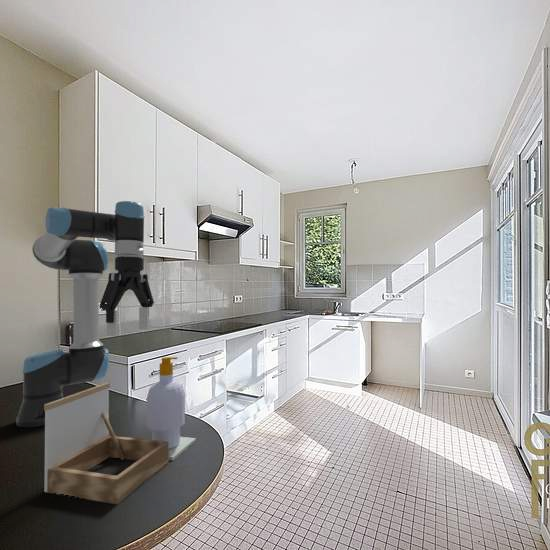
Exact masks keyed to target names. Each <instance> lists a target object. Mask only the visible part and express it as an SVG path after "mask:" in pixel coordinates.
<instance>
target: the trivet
mask: <svg viewBox="0 0 550 550" xmlns="http://www.w3.org/2000/svg"><path fill="white" fill-rule="evenodd" d="M195 441H196V442H197V438H196V437H188V436H187V437H185V436H180V443H179V444H178V445H177V446H176V447H174V448H171V449H168V450H169V461H174V460H176V459H177V458H178V457H179V456H181V455H182V454H183V453H184V452H185V451H186V450H187V449H189V448H190V447H191V446H192V445H193V444H195V443H196V442H195Z"/></svg>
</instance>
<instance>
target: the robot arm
mask: <svg viewBox="0 0 550 550" xmlns="http://www.w3.org/2000/svg"><path fill="white" fill-rule="evenodd" d="M114 208H115V210H114V214H113V213H112V214H111V213H106V212H105V213H104V212H96V211H95V212H94V211H86V210H80V209H73V208H67V207H54V206H53V207H49V208H47V210H46V214H45V230H46V231H45V233H44V235H42V236H39V237H38V238H37V239H36V240H34V243H33V244H32V249H31V250H32V254H33V256H34V258H35V259H36V261H38V262H39V263H41V264H42V265H44V266H46V267H48V268H50V269H54V270H62V271H68V276H69V277H70V278H71V279H72V281H73V289H72V290H73V298H72V299H73V303H72V304H73V341H72V342H73V343H71V345H70V346H69V347H68V352H66V353H65V352H64V351H63V350H62V349H54V350H53V349H51V350H46V351H42V352H39V353H38V352H37V353H34V354H31V355H29V356H27V357H26V358H25V359H24V360H23V370H22V374H23V376H22V377H23V379H22V381H23V382H22V383H23V384H22V402H21V405H20V407H19V410H18V413H17V416H16V419H15V420H16V421H15V422H16V423H15V424H16V426H17V427H19V428H39V427H43V426H44V427H45V410H44V404H47V403H50V402H53V401H56V400H59V399H62V398H65V397H64V393H63V392H64V390H63V388H64V386H65V387H66V386H71V385H77V384H81V383H92V382H95V381H99V380H102V379H103V378H104V377H105V376H106V374H107V372H108V370H109V364H110V353H109V350H108V349H107V348H105V347H104V343H103V342H101V340H100V309H101V310H102V311H105V322H106V336H116V337H117V336H118V334H119V333H118V332H119V331H118V330H119V329H118V327H119V325H118V324H119V323H118V321H119V319H118V318H119V317H118V316H119V313H118V312H119V311H118V309H117V307H118V306H119V304H120V302H121V300H122V298H123V297H124V294H125V293H126V292H128V290H131V291H132V292H133V293H134V295H135V297H136V299H137V300H138V303H139V304H140V307H139V309H138V311H139V313H138V315H139V316H138V317H139V318H138V321H139V322H138V323H139V324H138V326H139V328H138V329H139V330H148V329H149V326H150V325H149V324H150V323H149V321H150V319H149V318H150V308H152V307H153V305H154V304H155V301H154V298H153V294H152V290H151V287H150V284H149V278H148V277H149V276H148V274H144V273H143V274H142V273H141V272H142V271H144V270H145V269H144V267H145V265H144V263H145V262H144V261H145V259H144V258H143V256H144V242H145V241H144V237H145V233H144V232H145V230H144V229H145V213H144V205H142V204H141V203H140V202H136V201H130V200H121V201H117V203H116V204H115V207H114ZM81 237H82V238H89V239H90V238H92V239H103V240H108V241H111V242H114V255H115V256H116V257H115V258H114V270H115V271H117V272H110V273H109V274H108V281H107V284H106V287H105V290H104V292H103V294H102V298H101V300H100V299H99V297H100V294H99V288H100V287H99V279H100V278H101V277H102V276H103V274H104V272H105V271H107V270H108V265H109V255H108V251H107V248H106V246H105V244H103V243H102V242H101V241H96V240H87V239H86V240H84V239H78V238H81ZM99 302H100V303H99ZM99 308H100V309H99ZM116 309H117V310H116Z"/></svg>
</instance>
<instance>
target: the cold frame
mask: <svg viewBox="0 0 550 550" xmlns="http://www.w3.org/2000/svg"><path fill="white" fill-rule="evenodd" d="M101 416H102V418H103V420H104V422H105V425H106V427H107V429H108V431H109V436H107V437H105V438H103V439H102V440H100V441H98V442H96V443H94V444H93V445H91V446H89V447H87V448H85V449H83V450H82V451H80V452H78V453H76V454H74V455H73V456H71V457H69V458H67V459H65V460H63V461H62V462H60V463H58V464H56V465H54V466H53V467H51V468H49V469H48V492H47V493H48V494H54V493H56V494H55V495H60V494H64V495H63V496H65V495H69V496H68V497H71V496H75V497H74V498H77V497H79V498H78V499H83V498H84V500H88V501H89V500H90V501H94V502H102V503H107V504H113V505H119V504H121V502H122V501H124V500H125V499H126V498H127V497H129V496H130V495H131V494H132V493H133V492H134V491H136V490H137V489H138V488H139V487H140V486H141V485H143V484H144V483H145V482H146V481H147V480H149V479H150V478H151V477H152V476H154V475H155V474H156V473H157V472H158V471H159V470H160V469H162V468H163V467H164V466H165V465H166V464H168V463H169V461H170V460H169V450H168V442H165V441H156V440H152V439H145V438H144V439H143V438H137V437H129V436H128V437H126V436H117V435H116V434H115V431H114V430H113V428H112V425H111V423H110V420H109V421H108V418H107V416H106V414H105V412H104V413H102V414H101ZM108 458H116V459H117V458H118V459H120V460H121V461H123V460H133V461H135V462H134V463H132V464H131V465H130V466H129V467H127V468H125V469H124V470H123V471H122V472H120V473H119V474H116V475H113V474H106V473H100V472H93V471H89V470H91V469H92V468H94V467H95V466H97V465H99V464H100V463H102V462H103V461H105V460H107V459H108Z"/></svg>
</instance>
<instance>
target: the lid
mask: <svg viewBox="0 0 550 550" xmlns="http://www.w3.org/2000/svg"><path fill="white" fill-rule="evenodd" d="M110 385H111V383H110V382H105V383H102V384H100V385H97V386H93V387H91V388H87V389H85V390H82V391H79V392H75V393H73V394H71V395H67V396H65V397H64V398H62V399H59V400H56V401H53V402H50V403H47V404H44V410H45V425H44V487H43V488H44V489H43V490H44V493H48V469H49V468H51V467H53V466H54V465H56V464H58V463H60V462H62V461H63V460H65V459H67V458H69V457H71V456H73V455H74V454H76V453H78V452H80V451H82V450H83V449H85V448H87V447H89V446H91V445H93V444H94V443H96V442H98V441H100V440H102V439H103V438H105V437H107V436H109V435H110V434H109V431H108V429H107V427H106V425H105V422H104V420H103V418H102V416H101V414H102V413H104V412H105V414H106V416H107V418H108V421H109V422H110V419H109V416H110V411H109V409H110V408H109V406H110V399H109V398H110V391H109V389H110Z"/></svg>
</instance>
